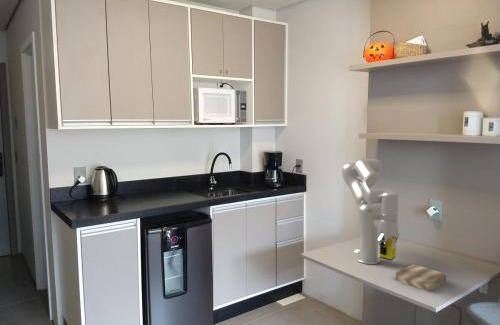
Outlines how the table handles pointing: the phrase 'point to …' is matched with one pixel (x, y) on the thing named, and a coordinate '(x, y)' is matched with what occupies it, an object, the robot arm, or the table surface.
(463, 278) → the table surface
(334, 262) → the table surface
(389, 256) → the supplement box
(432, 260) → the table surface
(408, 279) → the birch riser
